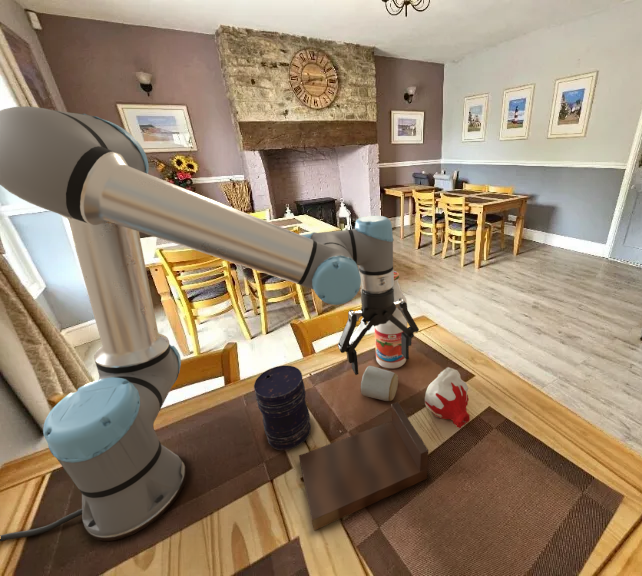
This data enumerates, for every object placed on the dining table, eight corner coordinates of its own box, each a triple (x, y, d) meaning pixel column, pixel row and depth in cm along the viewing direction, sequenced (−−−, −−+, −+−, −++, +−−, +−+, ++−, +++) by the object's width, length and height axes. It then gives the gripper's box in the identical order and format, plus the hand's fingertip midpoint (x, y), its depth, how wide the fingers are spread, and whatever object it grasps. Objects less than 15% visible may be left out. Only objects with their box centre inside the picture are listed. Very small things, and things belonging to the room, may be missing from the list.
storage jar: (320, 422, 73) (312, 372, 67) (292, 457, 65) (280, 403, 59) (286, 409, 77) (276, 360, 71) (257, 440, 69) (242, 389, 63)
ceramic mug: (391, 408, 76) (391, 384, 73) (360, 401, 78) (359, 377, 75) (402, 380, 85) (402, 357, 82) (374, 375, 88) (373, 352, 85)
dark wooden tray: (314, 530, 52) (307, 501, 49) (300, 465, 63) (295, 437, 60) (427, 478, 60) (428, 450, 57) (398, 428, 71) (397, 401, 68)
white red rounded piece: (449, 382, 83) (484, 429, 72) (411, 394, 80) (442, 446, 68) (454, 357, 79) (492, 403, 67) (414, 368, 75) (447, 420, 63)
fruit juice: (406, 350, 98) (407, 267, 86) (407, 369, 89) (408, 280, 78) (376, 349, 98) (373, 267, 87) (374, 369, 90) (370, 280, 78)
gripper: (326, 306, 62) (336, 388, 71) (434, 282, 70) (431, 358, 79) (318, 291, 68) (328, 368, 77) (418, 271, 77) (417, 343, 86)
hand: (380, 363), depth 78 cm, fingers open, 13 cm apart
